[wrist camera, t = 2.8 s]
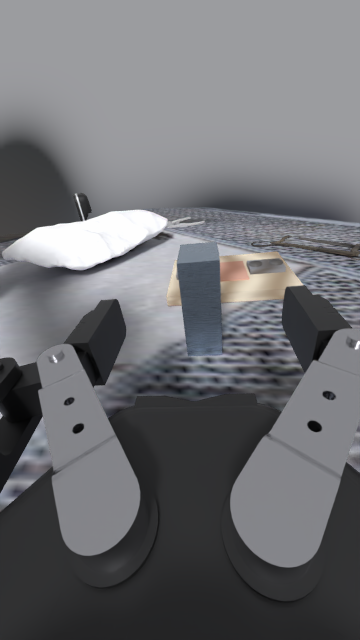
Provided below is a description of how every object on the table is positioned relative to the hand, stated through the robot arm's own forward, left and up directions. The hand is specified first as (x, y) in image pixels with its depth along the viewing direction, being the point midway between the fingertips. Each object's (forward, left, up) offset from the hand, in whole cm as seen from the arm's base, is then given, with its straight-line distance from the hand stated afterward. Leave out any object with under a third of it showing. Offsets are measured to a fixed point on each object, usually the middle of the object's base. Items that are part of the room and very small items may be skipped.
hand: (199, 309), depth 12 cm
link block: (0, +11, -11) cm, 16 cm away
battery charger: (-35, +68, -11) cm, 78 cm away
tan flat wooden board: (+4, +26, -11) cm, 29 cm away
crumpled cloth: (-24, +45, -11) cm, 52 cm away
